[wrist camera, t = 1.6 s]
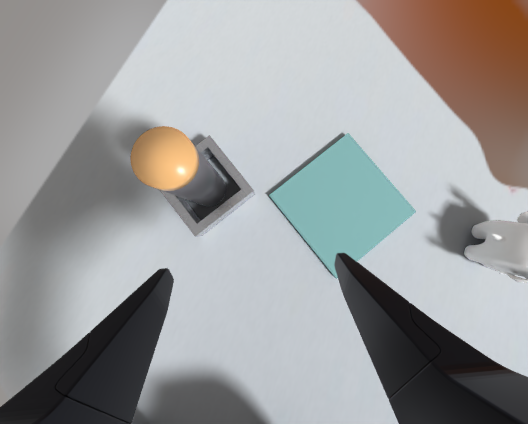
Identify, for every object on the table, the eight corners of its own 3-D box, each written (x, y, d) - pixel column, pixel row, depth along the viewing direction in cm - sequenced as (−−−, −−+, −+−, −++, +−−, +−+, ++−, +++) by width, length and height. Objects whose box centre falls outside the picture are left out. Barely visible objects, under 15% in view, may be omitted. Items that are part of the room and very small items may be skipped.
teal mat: (334, 277, 23) (336, 278, 22) (269, 196, 24) (269, 195, 23) (412, 212, 24) (416, 211, 23) (346, 135, 24) (348, 132, 24)
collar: (202, 235, 23) (195, 236, 21) (163, 184, 24) (151, 179, 21) (254, 194, 24) (253, 190, 21) (215, 144, 24) (209, 135, 22)
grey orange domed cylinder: (205, 213, 24) (155, 201, 13) (184, 186, 24) (118, 151, 13) (232, 191, 24) (206, 161, 13) (212, 165, 24) (169, 114, 13)
